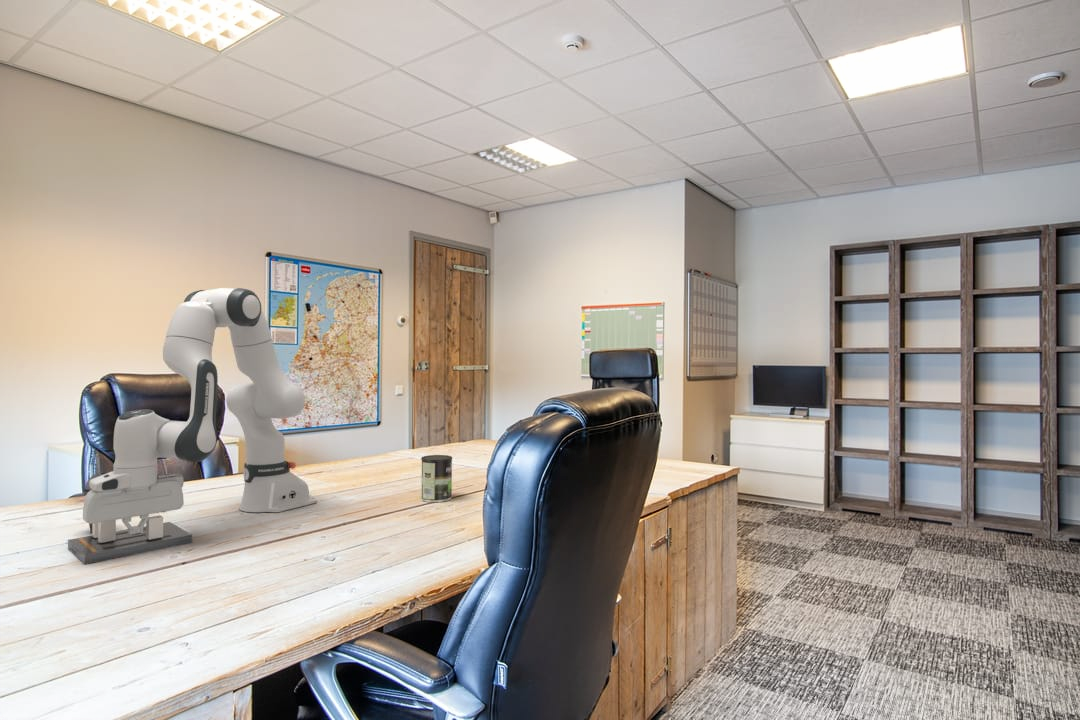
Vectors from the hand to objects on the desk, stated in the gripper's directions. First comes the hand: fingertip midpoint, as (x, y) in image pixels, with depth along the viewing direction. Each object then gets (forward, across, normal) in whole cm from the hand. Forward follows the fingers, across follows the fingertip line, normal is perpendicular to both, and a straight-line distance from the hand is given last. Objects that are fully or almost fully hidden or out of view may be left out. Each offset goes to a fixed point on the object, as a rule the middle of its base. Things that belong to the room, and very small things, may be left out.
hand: (135, 534), depth 143 cm
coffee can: (+4, -84, +11) cm, 84 cm away
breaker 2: (+2, +5, -5) cm, 7 cm away
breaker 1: (+2, +5, -11) cm, 12 cm away
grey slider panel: (+4, 0, -5) cm, 7 cm away
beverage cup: (+4, +2, -25) cm, 25 cm away
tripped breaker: (+2, -4, 0) cm, 4 cm away
